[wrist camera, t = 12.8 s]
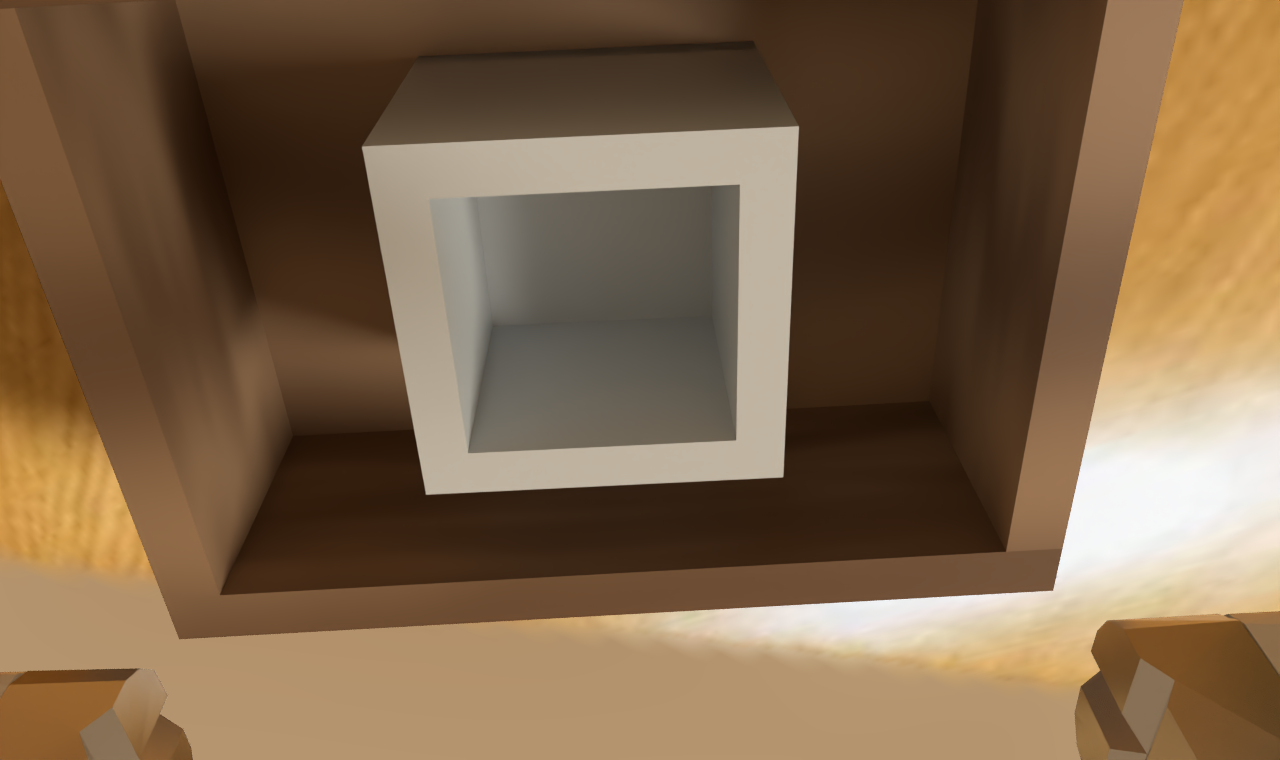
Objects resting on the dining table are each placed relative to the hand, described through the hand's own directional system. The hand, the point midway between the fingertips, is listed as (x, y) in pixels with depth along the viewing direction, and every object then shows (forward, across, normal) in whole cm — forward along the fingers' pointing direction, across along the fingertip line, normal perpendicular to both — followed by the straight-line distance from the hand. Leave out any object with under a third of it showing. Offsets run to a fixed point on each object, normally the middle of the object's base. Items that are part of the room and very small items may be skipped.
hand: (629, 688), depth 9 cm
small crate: (+12, 0, +1) cm, 12 cm away
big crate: (+13, 0, +1) cm, 13 cm away
